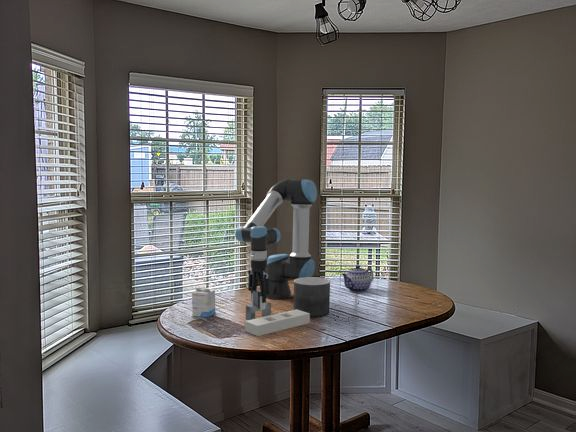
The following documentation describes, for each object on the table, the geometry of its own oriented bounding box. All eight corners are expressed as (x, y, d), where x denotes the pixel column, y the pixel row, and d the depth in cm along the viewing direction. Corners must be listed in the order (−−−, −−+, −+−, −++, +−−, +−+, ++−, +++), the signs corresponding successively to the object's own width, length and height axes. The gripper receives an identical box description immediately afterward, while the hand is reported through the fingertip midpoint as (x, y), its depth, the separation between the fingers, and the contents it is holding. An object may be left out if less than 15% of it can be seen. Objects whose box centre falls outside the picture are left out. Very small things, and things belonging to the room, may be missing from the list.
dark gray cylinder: (310, 305, 270) (311, 275, 268) (337, 312, 257) (337, 281, 256) (286, 312, 257) (286, 280, 256) (312, 319, 245) (312, 286, 243)
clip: (250, 321, 242) (250, 293, 241) (245, 319, 245) (245, 291, 244) (271, 316, 250) (271, 289, 248) (265, 314, 253) (265, 288, 251)
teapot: (364, 285, 318) (364, 261, 317) (382, 290, 305) (383, 265, 304) (332, 290, 304) (333, 265, 302) (350, 296, 291) (350, 269, 290)
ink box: (215, 313, 254) (215, 286, 253) (207, 317, 247) (207, 289, 245) (200, 311, 257) (200, 284, 256) (191, 316, 249) (191, 288, 248)
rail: (257, 336, 220) (257, 325, 219) (244, 331, 227) (244, 321, 226) (309, 323, 239) (309, 313, 239) (296, 318, 246) (296, 309, 246)
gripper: (240, 257, 249) (240, 305, 251) (264, 263, 235) (264, 313, 237) (253, 255, 254) (253, 302, 256) (277, 261, 240) (277, 310, 242)
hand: (258, 307), depth 247 cm, fingers open, 6 cm apart
